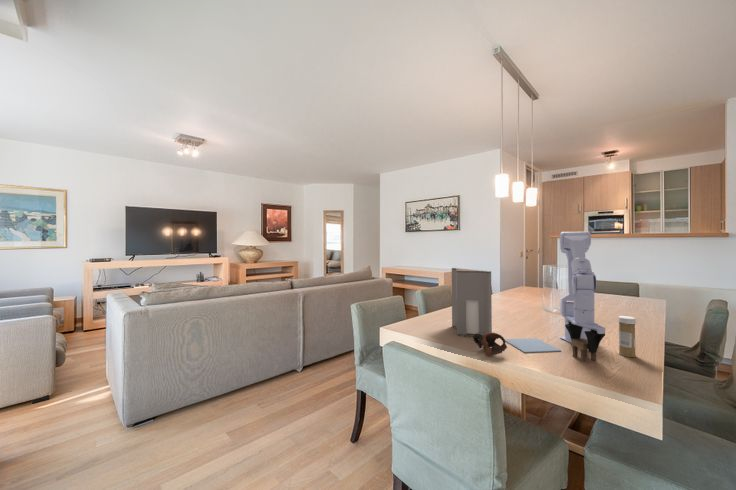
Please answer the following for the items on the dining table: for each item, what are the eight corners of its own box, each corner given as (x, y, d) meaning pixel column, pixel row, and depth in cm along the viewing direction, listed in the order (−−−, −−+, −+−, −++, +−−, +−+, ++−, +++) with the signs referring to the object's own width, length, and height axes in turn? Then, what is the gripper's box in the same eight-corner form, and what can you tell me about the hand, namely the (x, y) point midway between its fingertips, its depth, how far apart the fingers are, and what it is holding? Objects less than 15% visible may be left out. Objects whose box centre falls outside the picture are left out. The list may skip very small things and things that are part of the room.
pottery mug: (507, 351, 111) (511, 336, 106) (499, 370, 104) (503, 354, 100) (475, 337, 117) (477, 322, 113) (466, 354, 111) (468, 339, 107)
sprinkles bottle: (639, 356, 103) (639, 318, 102) (629, 358, 102) (628, 319, 101) (625, 352, 107) (625, 315, 107) (615, 353, 106) (615, 315, 106)
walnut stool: (585, 355, 105) (585, 338, 104) (597, 361, 100) (597, 343, 99) (571, 356, 104) (571, 338, 104) (583, 361, 99) (583, 343, 99)
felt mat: (536, 339, 122) (536, 338, 122) (561, 351, 109) (561, 350, 109) (503, 340, 121) (503, 339, 121) (524, 353, 107) (524, 351, 107)
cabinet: (491, 338, 125) (491, 271, 124) (476, 342, 120) (475, 272, 120) (454, 326, 143) (454, 267, 142) (439, 329, 138) (438, 269, 138)
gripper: (557, 304, 109) (557, 341, 109) (590, 314, 94) (590, 357, 94) (575, 304, 109) (575, 341, 109) (611, 313, 95) (611, 356, 95)
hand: (584, 348), depth 102 cm, fingers open, 6 cm apart
